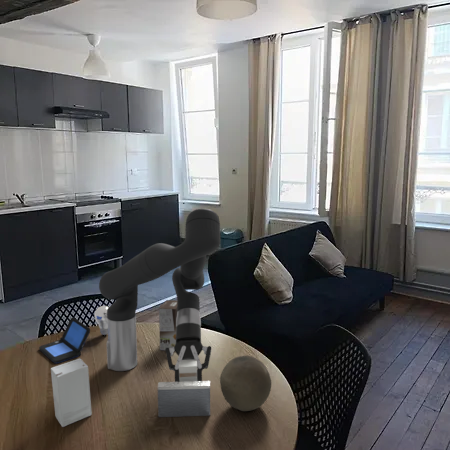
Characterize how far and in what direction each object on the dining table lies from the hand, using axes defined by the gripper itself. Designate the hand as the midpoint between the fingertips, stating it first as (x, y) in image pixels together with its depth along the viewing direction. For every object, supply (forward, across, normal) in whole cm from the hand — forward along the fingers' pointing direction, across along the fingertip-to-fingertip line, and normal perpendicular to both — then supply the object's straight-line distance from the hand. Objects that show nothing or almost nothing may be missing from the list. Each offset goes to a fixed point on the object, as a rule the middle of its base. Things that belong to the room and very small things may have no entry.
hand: (188, 383), depth 114 cm
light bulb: (-30, -34, +38) cm, 60 cm away
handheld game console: (-21, -46, +30) cm, 59 cm away
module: (+2, 0, +4) cm, 5 cm away
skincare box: (+7, -31, +2) cm, 32 cm away
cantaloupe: (+7, +16, +3) cm, 17 cm away
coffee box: (-22, -8, +31) cm, 39 cm away
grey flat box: (+7, -1, +2) cm, 8 cm away
